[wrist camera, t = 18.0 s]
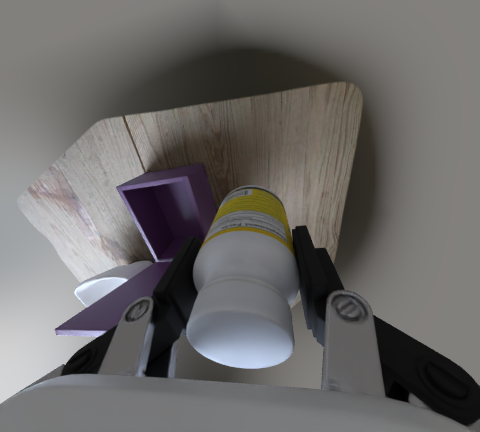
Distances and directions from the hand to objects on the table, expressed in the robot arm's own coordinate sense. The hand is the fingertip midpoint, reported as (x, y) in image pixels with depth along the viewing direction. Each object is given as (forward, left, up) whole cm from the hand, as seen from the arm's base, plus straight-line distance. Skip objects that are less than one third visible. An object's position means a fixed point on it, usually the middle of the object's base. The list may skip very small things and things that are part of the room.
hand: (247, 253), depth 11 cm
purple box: (+8, -18, -27) cm, 34 cm away
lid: (+13, -18, -10) cm, 24 cm away
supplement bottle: (0, 0, -5) cm, 5 cm away
